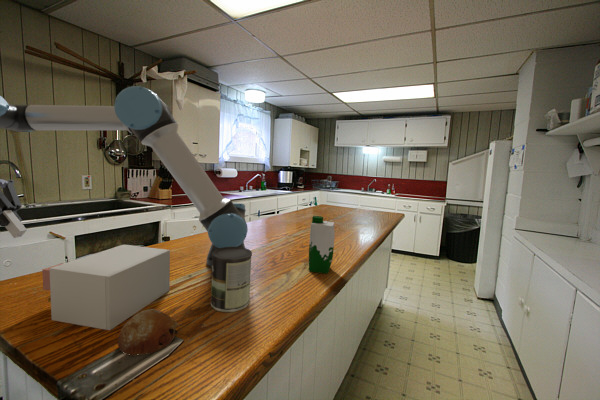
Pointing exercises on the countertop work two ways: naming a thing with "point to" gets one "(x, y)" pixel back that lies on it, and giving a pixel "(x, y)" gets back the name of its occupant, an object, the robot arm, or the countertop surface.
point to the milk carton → (321, 245)
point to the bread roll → (147, 332)
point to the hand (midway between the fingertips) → (20, 233)
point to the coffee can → (230, 278)
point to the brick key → (47, 277)
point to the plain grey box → (108, 285)
